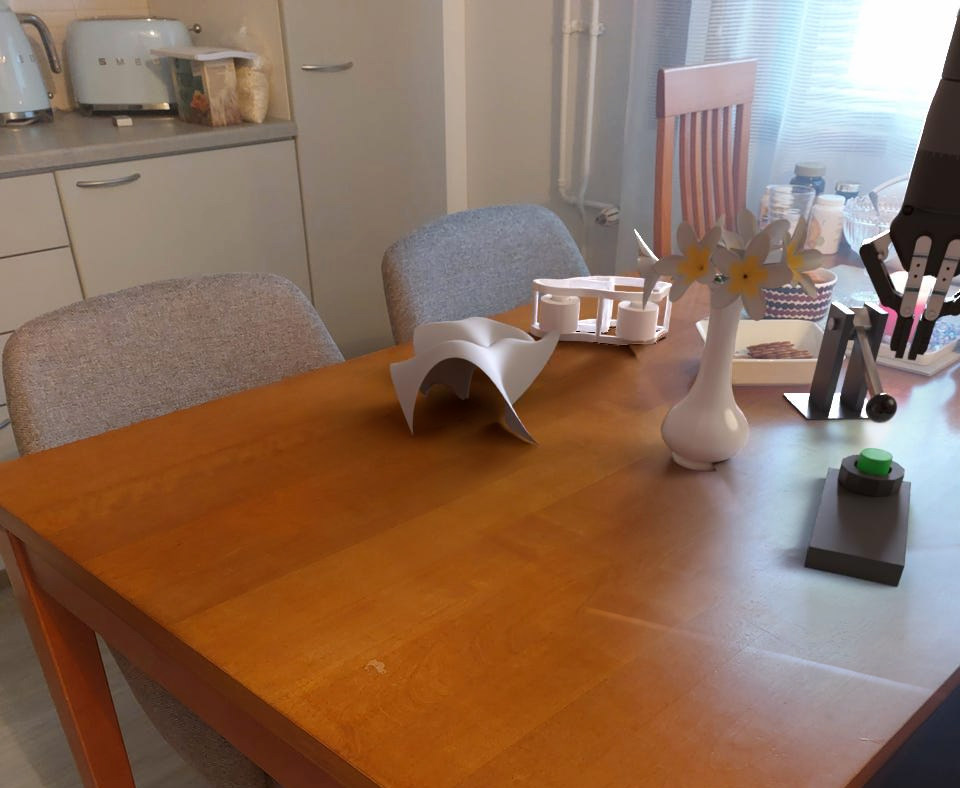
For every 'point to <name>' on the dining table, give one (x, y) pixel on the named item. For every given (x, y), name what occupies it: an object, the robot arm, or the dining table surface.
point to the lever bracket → (832, 351)
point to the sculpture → (472, 362)
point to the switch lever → (870, 369)
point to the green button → (874, 461)
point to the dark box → (861, 524)
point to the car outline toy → (598, 310)
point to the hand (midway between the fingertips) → (905, 356)
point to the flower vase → (724, 321)
